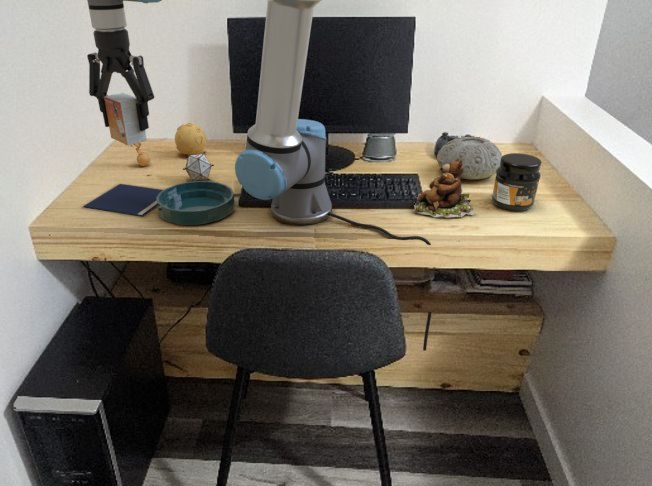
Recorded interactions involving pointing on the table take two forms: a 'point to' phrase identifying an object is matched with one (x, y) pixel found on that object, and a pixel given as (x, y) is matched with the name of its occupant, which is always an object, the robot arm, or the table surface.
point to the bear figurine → (445, 194)
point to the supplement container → (516, 181)
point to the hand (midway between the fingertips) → (127, 127)
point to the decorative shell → (471, 156)
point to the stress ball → (190, 139)
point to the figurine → (141, 156)
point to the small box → (123, 119)
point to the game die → (198, 167)
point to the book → (127, 200)
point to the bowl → (195, 202)
